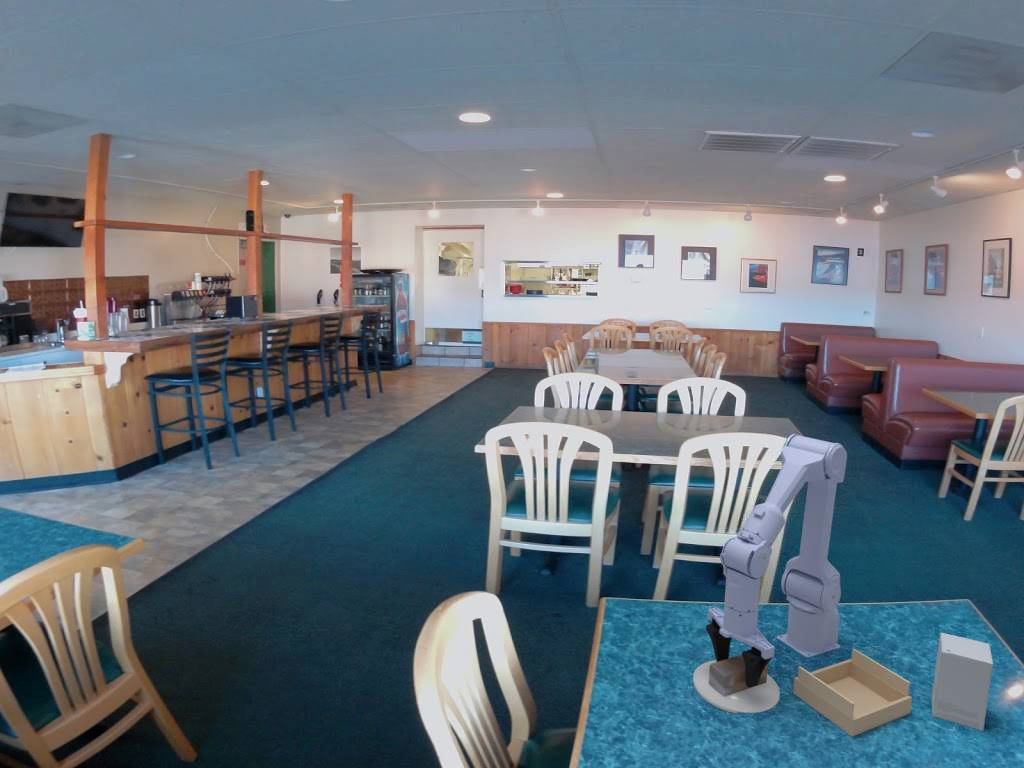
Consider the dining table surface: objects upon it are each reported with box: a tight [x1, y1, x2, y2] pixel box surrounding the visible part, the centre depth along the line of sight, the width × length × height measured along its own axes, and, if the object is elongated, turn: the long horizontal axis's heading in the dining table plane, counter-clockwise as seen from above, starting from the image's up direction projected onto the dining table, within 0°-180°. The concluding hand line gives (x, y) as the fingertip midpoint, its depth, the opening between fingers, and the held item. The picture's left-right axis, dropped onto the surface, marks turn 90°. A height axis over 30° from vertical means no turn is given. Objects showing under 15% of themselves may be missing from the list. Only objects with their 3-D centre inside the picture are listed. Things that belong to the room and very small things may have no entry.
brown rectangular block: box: [709, 653, 769, 697], centre depth 121 cm, size 10×4×4 cm, turn 114°
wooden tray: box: [792, 648, 913, 737], centre depth 116 cm, size 14×12×6 cm
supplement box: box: [931, 632, 994, 731], centre depth 113 cm, size 7×7×13 cm
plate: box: [692, 659, 781, 715], centre depth 121 cm, size 15×15×1 cm
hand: (736, 673), depth 121 cm, fingers open, 7 cm apart
